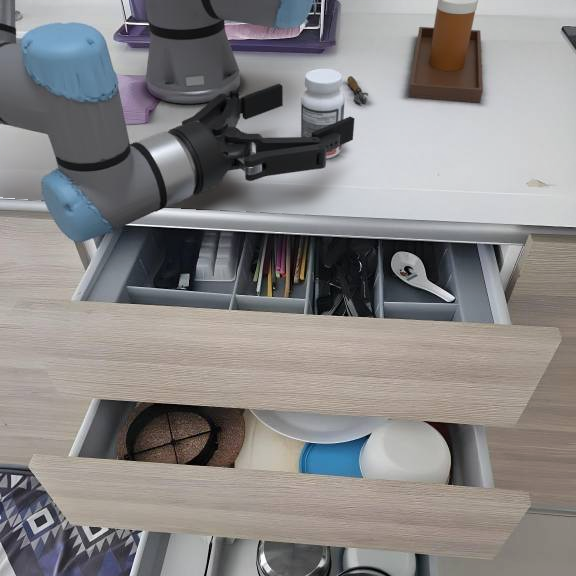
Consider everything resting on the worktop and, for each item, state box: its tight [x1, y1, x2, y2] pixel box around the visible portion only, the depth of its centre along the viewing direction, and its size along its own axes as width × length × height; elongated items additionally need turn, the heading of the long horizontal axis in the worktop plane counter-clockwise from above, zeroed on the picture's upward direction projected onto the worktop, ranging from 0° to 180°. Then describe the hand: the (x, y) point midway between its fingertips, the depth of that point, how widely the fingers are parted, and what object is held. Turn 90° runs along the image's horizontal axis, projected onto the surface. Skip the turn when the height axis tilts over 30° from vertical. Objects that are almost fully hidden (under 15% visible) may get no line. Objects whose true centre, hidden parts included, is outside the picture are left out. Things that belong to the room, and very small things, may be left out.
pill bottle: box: [300, 68, 345, 160], centre depth 77 cm, size 6×6×10 cm
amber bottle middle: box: [429, 0, 479, 71], centre depth 97 cm, size 6×6×10 cm
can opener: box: [346, 75, 369, 104], centre depth 93 cm, size 9×2×1 cm, turn 6°
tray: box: [407, 26, 484, 104], centre depth 100 cm, size 27×11×2 cm, turn 168°
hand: (314, 110), depth 76 cm, fingers open, 13 cm apart
